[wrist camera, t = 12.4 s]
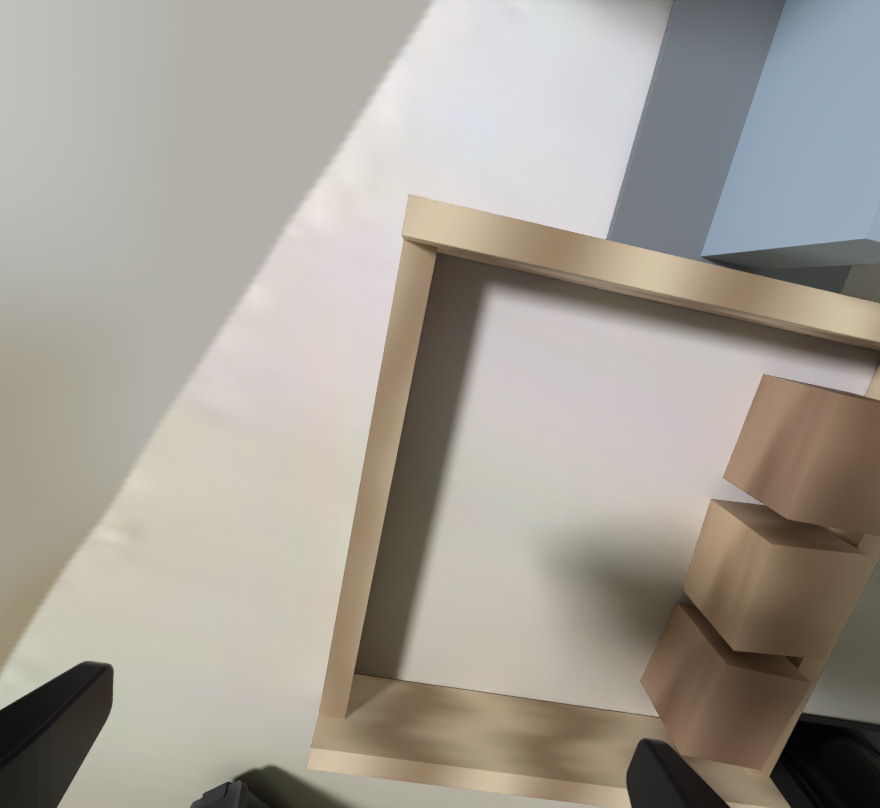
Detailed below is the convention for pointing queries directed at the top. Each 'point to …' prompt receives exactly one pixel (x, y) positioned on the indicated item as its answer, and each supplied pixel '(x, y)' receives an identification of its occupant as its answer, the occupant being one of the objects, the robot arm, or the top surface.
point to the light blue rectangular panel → (808, 146)
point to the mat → (699, 132)
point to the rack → (347, 694)
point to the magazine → (229, 797)
